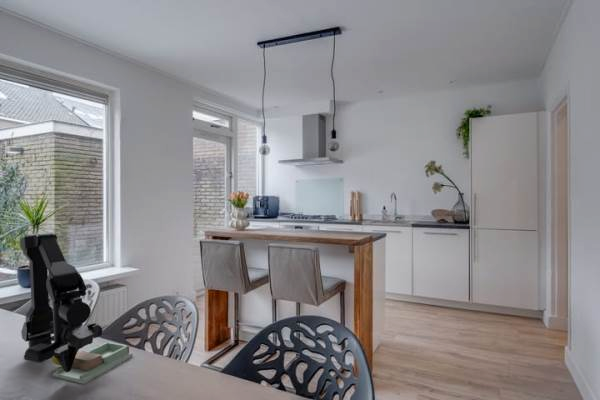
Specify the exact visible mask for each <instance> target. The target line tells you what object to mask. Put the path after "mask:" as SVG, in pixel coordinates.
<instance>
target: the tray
mask: <svg viewBox="0 0 600 400" xmlns="http://www.w3.org/2000/svg"><path fill="white" fill-rule="evenodd" d="M86 352H90V353H95V354H100V355H102V364H101V365H99V366H97V367H95V368H93V369H91V370H89V371H86V370H82V369H77V368H73V367H72V368H71V371H69V372H65V371H64V369H63V368H62V367H60V368H58V369H57V370H56V371H54V372H53V373H52V375H53V377H54V378H59V379H62V380H63V379H64V380H68V381H71V382H74V383H79V384H82V385H84V384H85V383H87V382H89V381H91V380H93V379H94V378H97V377H99V376H100V375H102V374H104V373H105V372H107V371H109V370H111V369H113V368H114V367H116V366H117V365H120V364H121V363H123V362H125V361H126V360H128V359H130V358H132V357H133V356H134V355H133V352H130V346H129V344H123V343H118V342H112V341H107V342H105V343H102V344H100V345H97V346H96V347H93V348H91V349H89V350H87V351H86Z"/></svg>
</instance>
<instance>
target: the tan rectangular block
mask: <svg viewBox="0 0 600 400" xmlns="http://www.w3.org/2000/svg"><path fill="white" fill-rule="evenodd" d="M101 364H102V355H100V354H95V353H90V352H87V351H84V350H82V351H80V352H79V351H78V352H77V354H76V356H75V359H74V362H73V365H72V367H73V368H77V369H82V370H86V371H89V370H91V369H93V368H95V367H97V366H99V365H101Z"/></svg>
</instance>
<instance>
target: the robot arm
mask: <svg viewBox="0 0 600 400" xmlns="http://www.w3.org/2000/svg"><path fill="white" fill-rule="evenodd" d="M19 246H20V250H22V254H23V256H25V258H26V259H27V260H28V261H29V279H30V281H29V282H30V302H31V306H30V308H29V309H28V311H27V313H26V314H25V322H23V325H22V329H21V331H20V332H21V338H22V340H23V341H24V342H28V348H26V350H25V351H24V355H23V357H24V360H25V361H29V362H34V363H43V362H45V361H47V360H50V359H52V357H53V355H54V356H55V358H56V359H57V360H58V361H59V363H60V365H61V368H63V369H64V371H65V372H69V371H71V368H72V365H73V362H74V359H75V356H76V354H77V353H79V350H80V349H82V348H84V347H85V346H88V345H91V344H93V341H94V339H96V338H99V337H101V336H102V335H103V328H102V326H101V325H99V323H97V322H92V323H88V324H86V325H84V324H83V323H86V321H87V320H89V318H90V316H91V313H92V312H91V311H92V309H91V308H90V306H89V304H87V303H85V302H83V297H82V296H86V295H87V286H86V284H85V281H84V278H83V277H82V275H81V274H80V272H78V270H77V269H76V267H75V266H74V265H71V264H69V263H68V262H67V260H66V258H65V256H64V253H63V251H62V250H61V248H60V245H59V243H58V237H57V234H56V233H54V232H37V233H29V234H25V235H24V237H21V238H20V240H19ZM49 296H50V297H49ZM50 299H51V301H52V307H51V306H50ZM60 365H59V366H60Z"/></svg>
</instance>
